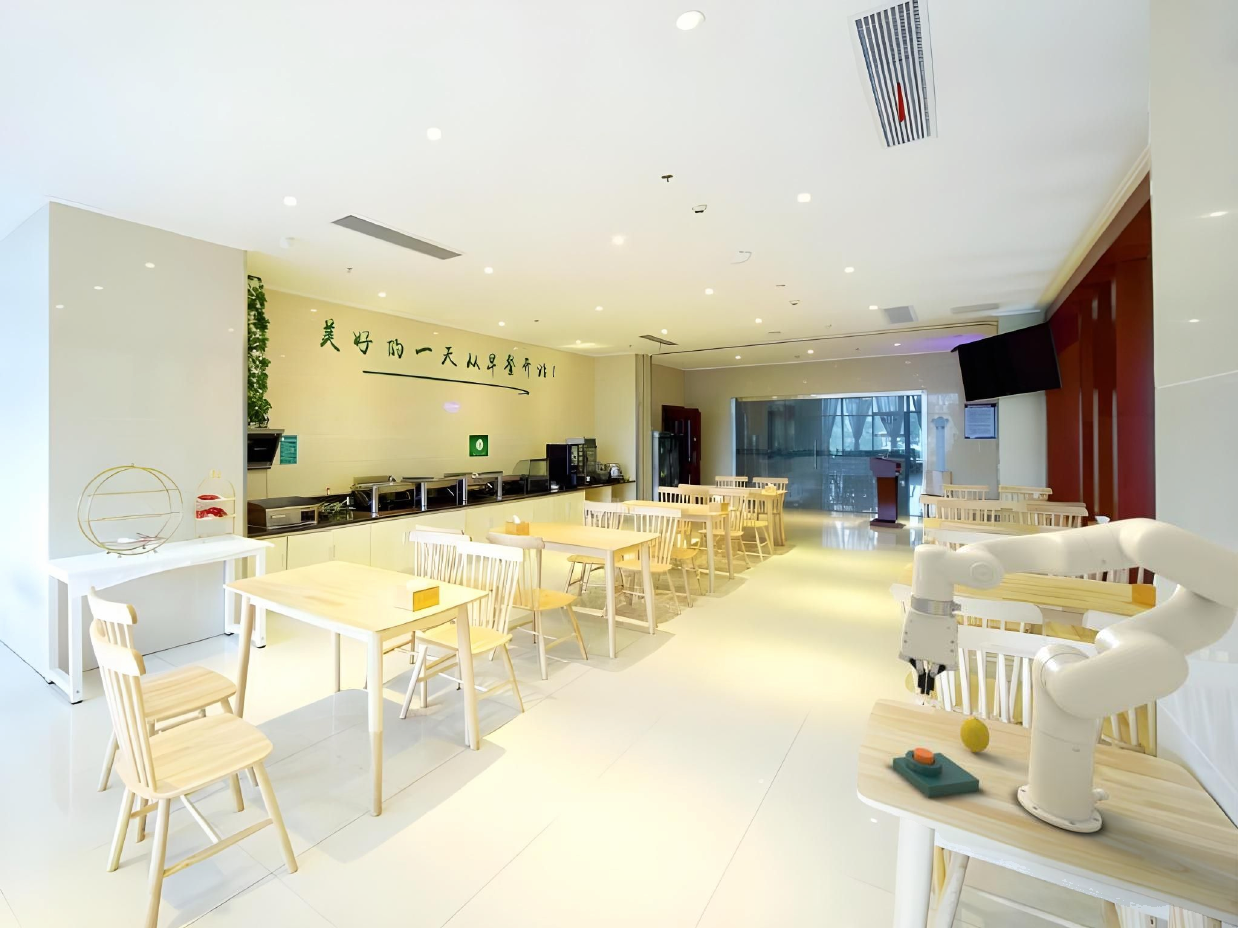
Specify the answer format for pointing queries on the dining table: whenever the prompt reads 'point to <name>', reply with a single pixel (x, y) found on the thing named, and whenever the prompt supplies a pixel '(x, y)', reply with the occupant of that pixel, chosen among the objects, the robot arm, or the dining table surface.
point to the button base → (935, 775)
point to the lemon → (974, 735)
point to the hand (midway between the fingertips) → (925, 692)
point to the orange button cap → (923, 756)
